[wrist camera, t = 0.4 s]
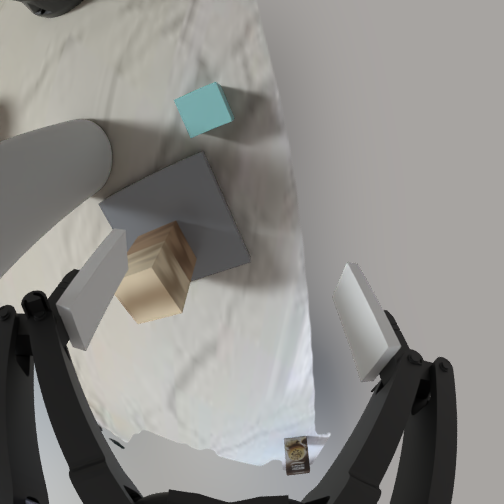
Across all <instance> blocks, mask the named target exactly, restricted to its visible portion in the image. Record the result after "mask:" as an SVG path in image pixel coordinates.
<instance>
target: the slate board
mask: <svg viewBox="0 0 504 504" xmlns="http://www.w3.org/2000/svg"><path fill="white" fill-rule="evenodd" d="M99 206H100V208H101V210H102V211H103V213H104V215H105V217H106V218H107V220H108V222H109V224H110V225H111V227H112V229H114V228H115V229H122V230H126V245H127V252H128V250H129V249H130V247H131V246H132V244H133V243H134V242H135V240H136V239H137V237H138V236H140V235H143V234H145V233H147V232H149V231H152V230H154V229H157V228H159V227H161V226H164V225H166V224H168V223H171V222H173V221H177V223H178V225H179V227H180V229H181V231H182V233H183V235H184V236H185V238H186V240H187V242H188V244H189V246H190V248H191V249H192V251H193V253H194V255H195V257H196V258H197V260H196V263H195V267H194V271H193V274H192V278H191V281H193V280H196V279H199V278H202V277H205V276H209V275H212V274H215V273H218V272H221V271H224V270H227V269H231V268H234V267H237V266H240V265H243V264H246V263H249V262H250V255H249V253H248V251H247V248H246V246H245V244H244V242H243V239H242V237H241V235H240V233H239V230H238V228H237V226H236V224H235V221H234V219H233V217H232V215H231V212H230V210H229V208H228V206H227V203H226V201H225V199H224V197H223V194H222V192H221V190H220V188H219V185H218V183H217V181H216V178H215V176H214V174H213V172H212V169H211V167H210V165H209V163H208V160H207V158H206V156H205V154H204V151H201V152H199V153H196V154H194V155H192V156H189V157H187V158H185V159H183V160H180V161H178V162H176V163H174V164H172V165H170V166H168V167H165V168H163V169H161V170H159V171H157V172H155V173H153V174H151V175H149V176H147V177H145V178H143V179H141V180H139V181H137V182H135V183H133V184H132V185H130V186H128V187H126V188H124V189H122V190H120V191H119V192H117V193H115V194H113V195H111V196H110V197H108V198H106V199H104V200H103V201H102V202H100V203H99Z"/></svg>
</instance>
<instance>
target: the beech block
mask: <svg viewBox="0 0 504 504" xmlns="http://www.w3.org/2000/svg"><path fill="white" fill-rule="evenodd" d="M127 258H128V271H127V273H126V274H125V276H124V278H123V280H122V281H121V283H120V285H119V287H118V289H117V290H116V292H115V296H116V297H117V298H118V300H119V301H120V302H121V304H122V305H123V306H124V307H125V309H126V310H127V311H128V312H129V314H130V315H131V316H132V317H133V319H134V320H135V321H136V322H137V324H141V323H145V322H149V321H153V320H157V319H161V318H165V317H169V316H173V315H176V314H180V313H182V312H183V308H184V304H185V300H186V297H187V293H188V289H189V285H190V281H189V280H188V278H187V276H186V275H185V273H184V272H183V270H182V268H181V267H180V265H179V263H178V261H177V260H176V258H175V256H174V255H173V253H172V251H171V250H170V248H169V246H168V244H167V243H166V241H162V242H160V243H157V244H155V245H152V246H150V247H147V248H145V249H143V250H140V251H138V252H135V253H133V254H130V255H128V256H127Z"/></svg>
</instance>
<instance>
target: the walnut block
mask: <svg viewBox="0 0 504 504" xmlns="http://www.w3.org/2000/svg"><path fill="white" fill-rule="evenodd" d="M162 241H166V243H167V244H168V246H169V248H170V250H171V251H172V253H173V255H174V256H175V258H176V260H177V261H178V263H179V265H180V267H181V268H182V270H183V272H184V273H185V275H186V276H187V278H188V280H189V281H190V282H191V278H192V274H193V271H194V267H195V263H196V260H197V258H196V257H195V255H194V253H193V251H192V249H191V248H190V246H189V244H188V242H187V240H186V238H185V236H184V235H183V233H182V231H181V229H180V227H179V225H178V223H177V221H173V222H171V223H168V224H166V225H164V226H161V227H159V228H157V229H154V230H152V231H149V232H147V233H145V234H143V235H140V236H138V237H137V239H136V240H135V242H134V243H133V244H132V246H131V247H130V249H129V250H128V252H127V256H128V255H130V254H133V253H135V252H138V251H140V250H143V249H145V248H147V247H150V246H152V245H155V244H157V243H160V242H162Z"/></svg>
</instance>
